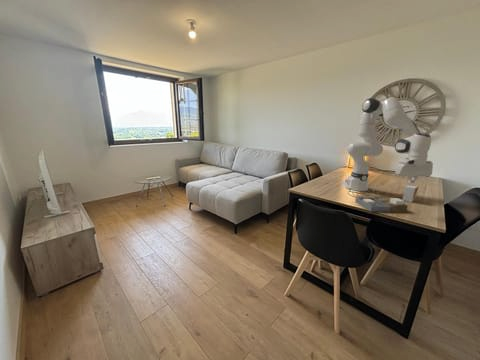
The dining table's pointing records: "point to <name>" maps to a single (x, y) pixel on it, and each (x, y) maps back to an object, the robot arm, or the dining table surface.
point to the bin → (377, 207)
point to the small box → (410, 193)
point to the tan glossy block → (393, 205)
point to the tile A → (369, 201)
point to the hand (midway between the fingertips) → (411, 182)
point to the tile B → (396, 201)
